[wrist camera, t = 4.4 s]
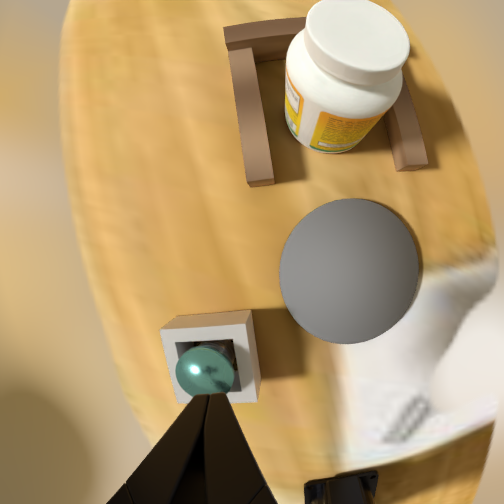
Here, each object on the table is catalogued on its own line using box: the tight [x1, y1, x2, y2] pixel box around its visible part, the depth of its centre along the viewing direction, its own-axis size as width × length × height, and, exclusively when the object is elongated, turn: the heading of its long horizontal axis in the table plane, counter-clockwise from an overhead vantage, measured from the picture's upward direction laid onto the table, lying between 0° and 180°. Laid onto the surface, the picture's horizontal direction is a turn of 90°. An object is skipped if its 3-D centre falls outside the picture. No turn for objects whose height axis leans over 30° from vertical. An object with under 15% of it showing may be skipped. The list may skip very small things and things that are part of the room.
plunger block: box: [160, 310, 261, 403], centre depth 17 cm, size 5×5×3 cm
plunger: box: [175, 339, 236, 397], centre depth 16 cm, size 3×3×4 cm
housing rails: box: [223, 17, 428, 187], centre depth 16 cm, size 10×11×3 cm
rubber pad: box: [279, 199, 419, 344], centre depth 17 cm, size 9×9×1 cm
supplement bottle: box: [285, 0, 410, 153], centre depth 12 cm, size 5×5×10 cm
